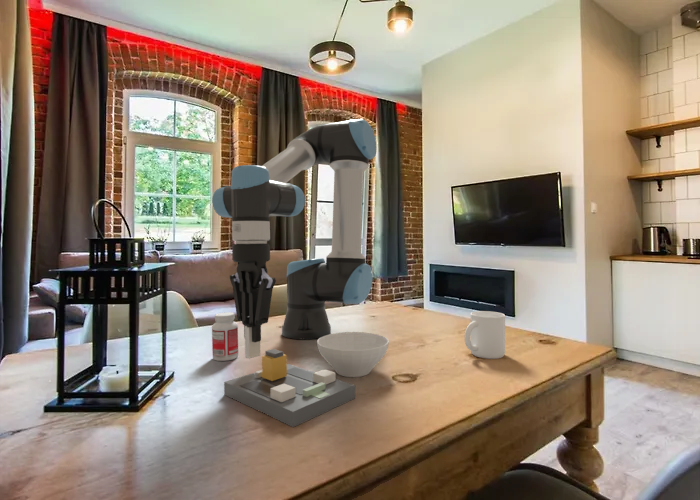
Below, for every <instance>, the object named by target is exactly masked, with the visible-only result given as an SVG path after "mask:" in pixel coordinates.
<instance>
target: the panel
mask: <svg viewBox="0 0 700 500" xmlns="http://www.w3.org/2000/svg"><path fill="white" fill-rule="evenodd" d="M223 383H224V384H223V388H224V390H223V391H224V395H223V396H225V397H228V398H230V399H232V398H233V399H232V400H234V401H236V400H237V402H238V401H239V402H238V403H240V402H241V404H243V405H245V404H246V405H245V406H247V405H248V406H247V407H249V406H250V407H249V408H251V407H252V409H253V408H254V409H253V410H255V409H256V410H255V411H257V410H259V411H261V412H260V413H262V412H263V413H262V414H264V413H266V414H268V415H270V416H272V417H274V418H275V419H274V418H273V419H274V420H276V419H278V420H277V421H279V420H280V421H279V422H281V423H283V422H284V423H283V424H285V423H286V424H285V425H287V424H288V425H287V426H289V425H290V426H289V427H291V426H292V427H291V428H294V427H297V426H298V425H301V424H303V423H305V422H308V421H310V420H311V419H315V418H317V417H318V416H320V415H322V414H324V413H327V412H329V411H331V410H333V409H335V408H337V407H339V406H342V405H343V404H346V403H348V402H351V401H352V400H354V399H356V385H355V384H353V383H350V382H346V381H345V380H344V381H343V380H340V379H336V371H332V370H328V369H325V368H324V369H321V370H318V371H316V372H315V371H312V370H309V369H306V368H303V367H299V366H296V365H292V364H289V363H287V376H286V377H283V378H280V379H277V380H274V381H270V380H268V379H265V378H262V369H260V370H257V371H254V372H252V373H249V374H246V375H242V376H239V377H237V378H233V379H230V380H227V381H224V382H223ZM259 411H258V412H259ZM266 414H265V415H266ZM268 415H267V416H268ZM270 416H269V417H270ZM272 417H271V418H272Z"/></svg>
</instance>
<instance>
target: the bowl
mask: <svg viewBox="0 0 700 500" xmlns="http://www.w3.org/2000/svg"><path fill="white" fill-rule="evenodd" d="M389 341H390V340H389V338H387V337H386V336H383V335H380V334H376V333H371V332H363V331H362V332H359V331H346V332H344V331H343V332H336V333H330V334H329V335H326V336H323V337H321V338H317V339H316V343H317V350H318V351H319V353H320V355H321V357H322V358H323V359H324V360H325V361H326V362H327V363H328V364H329V365H330V366H331V368H333V370H334V372H335V374H336V375H339V376H341V377H345V378H361V377H365V376H368V375H369V374H370V373H371V371H373V368H374V367H375V366H376V365H378V363H379V362H380V361H381V360H382V359H383V358H384V357H385V355H386V353H387V350H388V348H389V343H390V342H389Z"/></svg>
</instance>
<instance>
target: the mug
mask: <svg viewBox="0 0 700 500" xmlns="http://www.w3.org/2000/svg"><path fill="white" fill-rule="evenodd" d="M464 343H465V347H466V348H467V349H468V350H469V351H470V353H471V354H472V355H473V356H475V357H477V358H480V359H487V360H488V359H489V360H491V359H495V360H497V359H502V358H503V357H504V356H505V354H506V315H505V314H504V313H502V312H497V311H489V310H480V311H479V310H477V311H472V312H470V322H469V324H468V325H467V327H466V329H465V332H464Z"/></svg>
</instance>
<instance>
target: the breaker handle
mask: <svg viewBox="0 0 700 500" xmlns="http://www.w3.org/2000/svg"><path fill="white" fill-rule="evenodd" d="M264 354H265V355H264ZM264 354H263V355H262V356H261V367H262V368H261V370H262V378H265V379H268V380H270V381H274V380H277V379H280V378H283V377H286V376H287V364H288V363H287V362H288V360H287V354H285V353H284V351H282V350H278V349H276V348H272V349H271V348H270V349H268V350H265V353H264Z"/></svg>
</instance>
